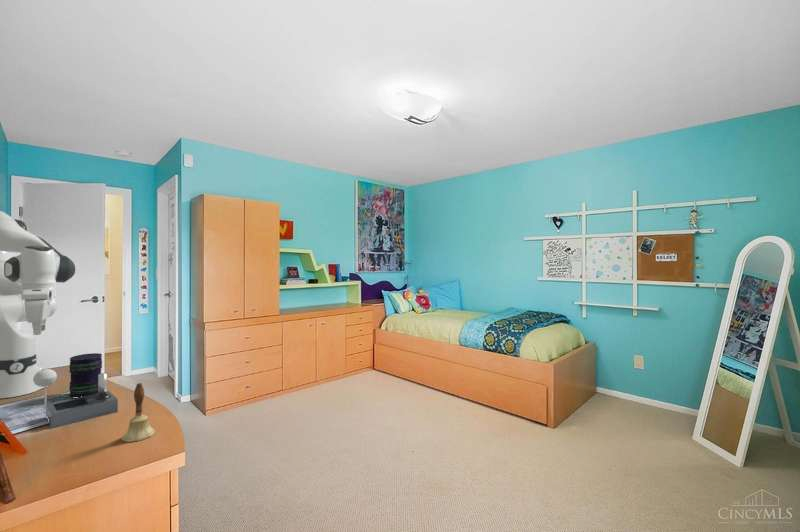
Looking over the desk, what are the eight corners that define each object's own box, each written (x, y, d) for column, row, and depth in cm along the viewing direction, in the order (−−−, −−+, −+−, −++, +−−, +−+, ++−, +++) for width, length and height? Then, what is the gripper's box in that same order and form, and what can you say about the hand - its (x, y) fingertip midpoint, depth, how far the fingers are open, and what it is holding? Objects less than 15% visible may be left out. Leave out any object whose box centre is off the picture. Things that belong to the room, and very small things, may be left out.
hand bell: (118, 436, 111) (118, 384, 111) (150, 426, 118) (150, 377, 117) (126, 445, 106) (126, 390, 106) (159, 435, 112) (159, 383, 112)
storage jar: (79, 399, 139) (80, 360, 139) (63, 396, 142) (63, 358, 142) (108, 391, 148) (108, 354, 148) (91, 388, 151) (91, 352, 151)
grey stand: (51, 428, 116) (51, 388, 115) (45, 417, 123) (45, 379, 123) (117, 411, 129) (117, 375, 129) (108, 402, 136) (108, 368, 136)
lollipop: (60, 410, 129) (60, 368, 129) (38, 417, 124) (38, 372, 123) (51, 407, 131) (51, 366, 131) (29, 413, 126) (29, 370, 126)
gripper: (31, 291, 132) (31, 329, 133) (20, 295, 116) (20, 338, 116) (55, 290, 136) (55, 327, 136) (47, 293, 120) (48, 335, 120)
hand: (39, 332), depth 126 cm, fingers open, 8 cm apart
